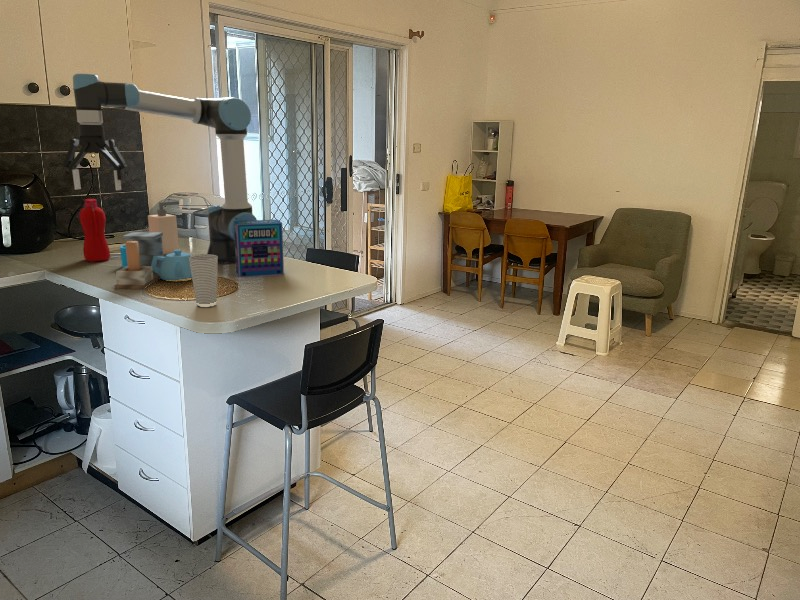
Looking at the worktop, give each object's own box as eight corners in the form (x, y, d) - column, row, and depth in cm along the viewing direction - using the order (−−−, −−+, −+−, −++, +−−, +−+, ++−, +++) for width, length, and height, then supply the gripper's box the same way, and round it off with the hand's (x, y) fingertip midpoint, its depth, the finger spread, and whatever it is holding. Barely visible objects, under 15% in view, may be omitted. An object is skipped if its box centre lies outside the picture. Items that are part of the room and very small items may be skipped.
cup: (208, 310, 181) (205, 260, 177) (186, 307, 184) (182, 258, 180) (226, 303, 189) (223, 255, 185) (204, 300, 192) (201, 253, 188)
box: (279, 269, 236) (277, 219, 230) (283, 274, 228) (282, 222, 222) (236, 272, 230) (233, 220, 224) (239, 277, 222) (236, 224, 216)
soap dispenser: (161, 254, 259) (157, 203, 252) (150, 252, 264) (146, 202, 257) (187, 250, 268) (183, 201, 262) (176, 248, 273) (172, 200, 267)
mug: (126, 269, 230) (124, 249, 228) (119, 266, 236) (117, 245, 234) (157, 265, 238) (155, 245, 236) (150, 262, 244) (148, 242, 242)
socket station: (166, 275, 223) (162, 232, 218) (145, 289, 203) (141, 242, 199) (136, 275, 222) (132, 232, 218) (113, 288, 203) (107, 241, 199)
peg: (143, 280, 210) (139, 241, 207) (139, 282, 206) (135, 243, 203) (131, 280, 210) (128, 240, 206) (127, 282, 206) (123, 242, 203)
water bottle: (88, 263, 238) (80, 201, 232) (83, 259, 247) (75, 198, 240) (113, 261, 244) (106, 200, 237) (107, 256, 252) (100, 197, 245)
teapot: (179, 272, 229) (177, 244, 226) (210, 276, 223) (208, 248, 220) (148, 280, 215) (145, 251, 212) (180, 285, 210) (178, 255, 207)
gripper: (133, 125, 199) (140, 189, 205) (58, 123, 198) (66, 187, 204) (124, 124, 192) (131, 191, 198) (45, 123, 191) (54, 189, 197)
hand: (98, 189), depth 201 cm, fingers open, 13 cm apart
